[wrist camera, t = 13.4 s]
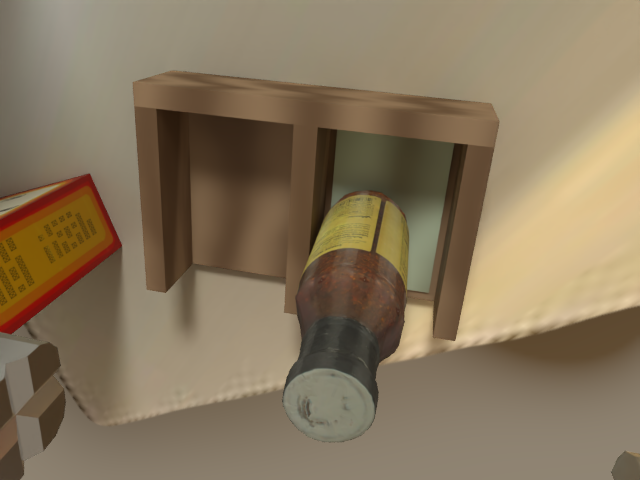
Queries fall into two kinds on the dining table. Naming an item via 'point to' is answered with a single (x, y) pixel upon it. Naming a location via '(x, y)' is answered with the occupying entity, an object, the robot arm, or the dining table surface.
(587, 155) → the dining table surface
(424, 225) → the wooden divided tray
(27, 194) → the baking soda box
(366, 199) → the sauce bottle
